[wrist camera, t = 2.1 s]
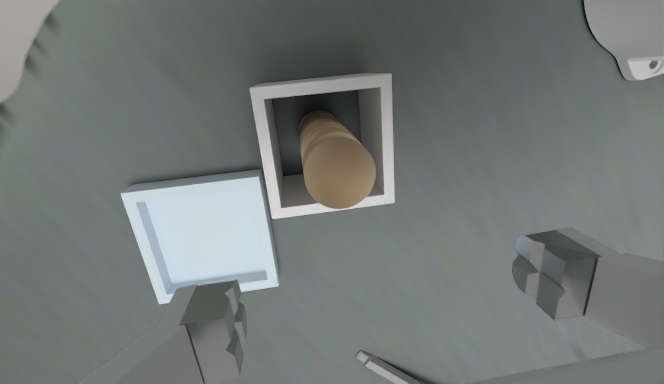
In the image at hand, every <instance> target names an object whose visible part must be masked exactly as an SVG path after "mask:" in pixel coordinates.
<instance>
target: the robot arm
mask: <svg viewBox="0 0 664 384" xmlns="http://www.w3.org/2000/svg"><path fill="white" fill-rule="evenodd" d="M584 5H585V12H586V17H587V21H588V24H589V26H590V29H591V31H592V33H593V35H594V36H595V38H596V39H597V40H598V42H599V43H600V44H601V45H602V46H603V47H604V48H606V49H607V50H608V51H609V52H611V53H612V54H613V55H614V56H615V58H616V59H617V62H618V65H619V68H620V70H621V73H622V75H623V76H624V78H625V79H626V80H628V81H638V80H644V79H647V78H651V77H654V76H657V75H660V74H663V73H664V0H584ZM515 251H516V252H517V254H518V256H517V258H516V259H515V260H514V262H513V267H512V274H513V277H514V280H515V283H516V284H517V286H518V287H519V288H520V289H521V290H522V291H523V292H524V293H525V294H527V295H529V296H532V297H534V298H536V304H537V305H538V306H539V307H540V308H541V309H542V310H543V311H544V312H546V313H547V314H548V315H549V316H550V317H551V318H552V319H553V320H554V321H556V320H563V319H570V318H576V317H583V316H585V318H586V319H588V320H590V321H592V322H594V323H596V324H598V325H601V326H603V327H605V328H607V329H609V330H611V331H613V332H615V333H617V334H619V335H621V336H623V337H625V338H627V339H629V340H631V341H633V342H635V343H637V344H639V345H641V346H644V347H646V348H648V349H643V350H637V351H632V352H627V353H622V354H616V355H611V356H606V357H601V358H595V359H590V360H585V361H580V362H574V363H569V364H564V365H559V366H553V367H548V368H543V369H538V370H532V371H527V372H522V373H517V374H512V375H507V376H502V377H496V378H491V379H486V380H481V381H476V382H471V383H466V384H664V262H663V261H658V260H654V259H650V258H646V257H641V256H637V255H633V254H628V253H624V254H621V253H619V252H617V251H615V250H613V249H611V248H609V247H608V246H606V245H604V244H602V243H600V242H598V241H596V240H594V239H592V238H591V237H589V236H587V235H585V234H583V233H581V232H579V231H577V230H575V229H573V228H562V229H557V230H552V231H547V232H542V233H536V234H530V235H525V236H519V237H518V238H517V240H516V242H515ZM240 295H241V290H240V286H239V282H238V281H237V279H232V280H224V281H216V282H209V283H201V284H193V285H187V286H181V287H179V288H177V289H176V291H175V293H174V295H173V297H172V298H171V300H170V302H169V304H168V306H167V308H166V310H165V312H164V314H163V316H162V318H161V320H160V321H159V323H158V325H157V327H156V329H155V330H150V331H148V332H146V333H145V334H144V335H142V336H141V337H140V338H138V339H137V340H136V341H134V342H133V343H132V344H130V345H129V346H128V347H126V348H125V349H124V350H122V351H121V352H120V353H118V354H117V355H116V356H114V357H113V358H112V359H110V360H109V361H108V362H106V363H105V364H104V365H102V366H101V367H100V368H98V369H97V370H96V371H94V372H93V373H92V374H90V375H89V376H88V377H86V378H85V379H84V380H82V381H81V382H80V383H78V384H210V383H214V382H219V381H224V380H229V379H233V378H238V377H240V374H241V367H242V361H243V351H242V345H243V344H244V342H245V341H246V335H247V319H246V312H245V307H244V305H243V304H242V303H241V302H239V300H240Z"/></svg>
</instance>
